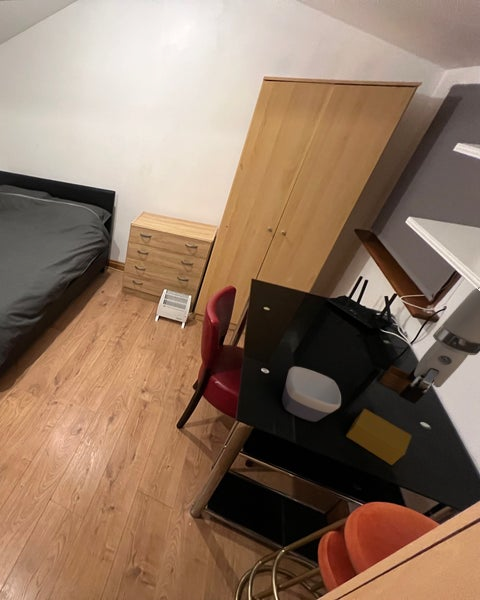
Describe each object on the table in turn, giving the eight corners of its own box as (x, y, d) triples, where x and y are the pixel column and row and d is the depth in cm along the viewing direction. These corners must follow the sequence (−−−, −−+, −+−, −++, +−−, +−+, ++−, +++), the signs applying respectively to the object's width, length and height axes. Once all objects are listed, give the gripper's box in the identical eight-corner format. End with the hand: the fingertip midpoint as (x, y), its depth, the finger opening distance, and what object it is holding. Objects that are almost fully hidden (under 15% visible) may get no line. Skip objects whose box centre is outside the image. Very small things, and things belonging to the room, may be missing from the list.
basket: (412, 389, 123) (421, 379, 120) (408, 397, 119) (418, 387, 116) (382, 374, 128) (391, 365, 125) (378, 382, 125) (387, 372, 122)
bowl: (274, 412, 108) (289, 390, 102) (275, 382, 120) (288, 361, 114) (327, 433, 103) (345, 411, 97) (322, 400, 115) (339, 379, 108)
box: (399, 447, 101) (411, 435, 98) (391, 466, 95) (404, 454, 92) (354, 419, 109) (364, 408, 105) (345, 435, 103) (355, 424, 100)
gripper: (479, 364, 65) (423, 417, 75) (484, 334, 75) (434, 384, 84) (431, 344, 70) (384, 396, 79) (442, 317, 80) (398, 367, 89)
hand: (410, 390), depth 82 cm, fingers open, 9 cm apart
